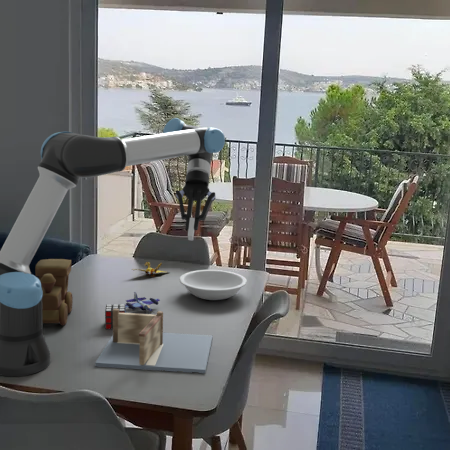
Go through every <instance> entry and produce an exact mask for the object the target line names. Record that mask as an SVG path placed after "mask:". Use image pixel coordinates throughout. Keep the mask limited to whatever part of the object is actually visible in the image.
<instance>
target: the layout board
mask: <svg viewBox="0 0 450 450" xmlns="http://www.w3.org/2000/svg"><path fill="white" fill-rule="evenodd" d="M212 343H213V335H210V334H194V333H193V334H192V333H177V332H164V331H163V344H162V345H159V346H158V348H157V349H156V350H155V351H154V353H153V354H152V355H151V356H150V358H149V359H148V360H147V361H146V363H145V364H144V365H140V364H139V350H140V343H128V342H113V334H112V336H111V337H110V339H109V340H108V341H107V343H106V345H105V347H104V348H103V350H102V351H101V353H100V355H99V356H98V358H97V359H96V361H95V363H94V365H95V367H101V368H102V367H104V368H118V369H133V370H135V369H136V370H147V371H148V370H149V371H151V370H152V371H161V370H162V372H165V371H166V372H177V371H183V372H182V373H192V372H199V373H198V374H206V372H207V366H208V363H207V362H208V361H209V356H210V354H211V353H210V352H211V347H212ZM163 370H165V371H163Z"/></svg>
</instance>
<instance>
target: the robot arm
mask: <svg viewBox="0 0 450 450" xmlns="http://www.w3.org/2000/svg"><path fill="white" fill-rule="evenodd" d="M162 131H163V132H161V133H157V134H156V133H155V134H149V135H143V136H136V137H129V138H123V139H121V138H120V137H118V136H110V137H103V136H102V137H101V136H100V137H99V136H93V135H87V134H81V133H75V132H73V131H59V132H55V133H52V134H50V135H49V136H48V137H46V139H45V140H44V141H43V143H42V145H41V148H40V159H41V160H40V162H39V164H38V166H37V171H38V174H39V177H38V178H37V181H35V184H34V186H33V188H32V190H31V192H30V193H29V195H28V197H27V200H26V201H25V203H24V205H23V207H22V208H21V211H20V213H19V214H18V216H17V218H16V221H15V222H14V224H13V226H12V228H11V229H10V232H9V234H8V236H7V237H6V239H5V241H4V243H3V245H2V247H1V248H0V376H2V377H23V376H24V377H25V376H29V375H32V374H36V373H39V372H41V371H43V370H45V369H46V368H48V366H50V364H51V351H50V349H49V346H48V344H47V341H46V339H45V336H44V331H43V330H44V329H43V325H44V323H43V318H42V295H43V292H42V288H41V282H40V280H39V277H38V276H36V275H34V274H33V273H32V272H31V269H30V264H31V262H32V260H33V259H34V256H35V255H36V253H37V251H38V249H39V247H40V245H41V244H42V241H43V239H44V237H45V235H46V233H47V231H48V230H49V227H50V226H51V224H52V221H53V219H54V218H55V216H56V214H57V212H58V210H59V208H60V206H61V204H62V202H63V200H64V198H65V196H66V195H67V193H68V191H69V190H71V189H74V188H76V187H77V186H78V183H79V182H80V179H81V178H82V179H83V178H84V179H85V178H87V179H88V178H95V177H100V176H104V175H109V174H110V175H111V174H112V173H118V172H123V171H125V169H126V167H131V166H136V165H140V164H146V163H147V164H148V163H151V162H152V163H153V162H156V161H157V162H158V161H164V160H168V159H175V158H180V157H185V156H186V157H188V160H187V168H186V175H185V182H184V183H185V184H184V186H183V188H182V189H181V190H176V191H175V197H176V199H177V200H178V204H179V210H180V211H179V212H180V217H181V220H182V221H183V220H185V226H184V227H185V230H187V240H188V241H194V236H195V231H199V224H200V222H201V221H202V222H204V221H205V220H206V218H207V216H208V213H209V211H210V208H211V206H212V203H213V202H214V201H215V200H216V192H214V191H213V192H212V191H210V187H209V186H210V184H209V183H210V176H211V175H210V174H211V168H212V167H211V165H212V157H213V156H212V155H213V154H216V153H219V152H221V151H222V149H223V148H224V147H225V144H226V136H225V134H224V133H223V131H222V130H221V129H219V128H216V127H213V126H210V127H209V126H198V125H191V124H186V123H185V122H184V120H181V119H180V118H178V117H173V118H171V119H170V120H169V121H167V122H166V123H165V126H164V128H163V129H162ZM184 196H185V197H186V198H187V200H188V201H187V202H188V203H187V208H186V213H185V205H184V201H183V198H184ZM205 198H206V201H205V204H204V206H203V209H202V211H201V207H202V201H203V200H204V199H205ZM194 202H195V212H194V217H192V214H193V207H194Z"/></svg>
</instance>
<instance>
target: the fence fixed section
mask: <svg viewBox="0 0 450 450" xmlns="http://www.w3.org/2000/svg"><path fill="white" fill-rule="evenodd" d="M156 315H160V316H161V331H160V345H162V344H163V332H164V311H161V310H160V311H157V312H156V314H151V313H150V314H148V313H135V312H134V313H133V312H126V313H119V309H113V329H112V335H113V342H128V343H140V336H139V333H140V332H141V331H142V330H143V329H144V328H145V327H146V326H147V325H148V323H149V322H150V321H151V320H152V319H153V318H154V317H155V316H156Z"/></svg>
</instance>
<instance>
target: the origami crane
mask: <svg viewBox="0 0 450 450" xmlns="http://www.w3.org/2000/svg"><path fill="white" fill-rule="evenodd" d="M162 264H163V263H162V262H160V263H158V264H157V267H155V268H152V267H151V262H149V261H146V262H145V263H144V266H145V267H146V266H147V268H146V269H142V268H140V269H139V268H132V269H131V271H132V270H133V271H141V272H145V276H149V275H150V277H153V278H154V277H155V274H159V273H167V271H165V270H160V268H161V266H162ZM153 273H154V274H153Z"/></svg>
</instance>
